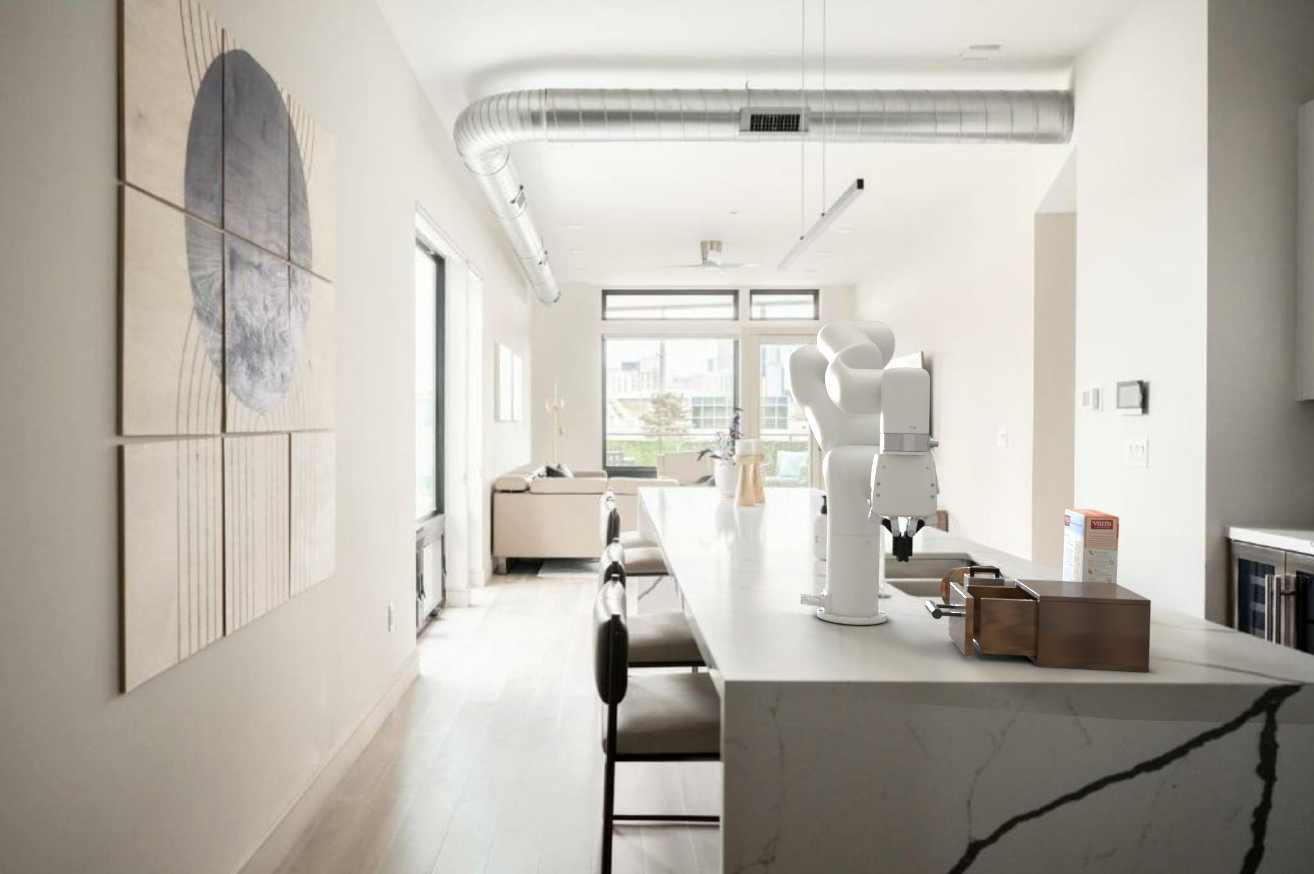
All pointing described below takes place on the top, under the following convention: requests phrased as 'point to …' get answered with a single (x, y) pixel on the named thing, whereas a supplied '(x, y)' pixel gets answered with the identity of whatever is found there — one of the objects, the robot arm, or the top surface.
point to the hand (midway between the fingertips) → (902, 560)
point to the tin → (957, 580)
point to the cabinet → (1090, 625)
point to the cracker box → (1090, 546)
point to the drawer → (990, 619)
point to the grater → (983, 577)
